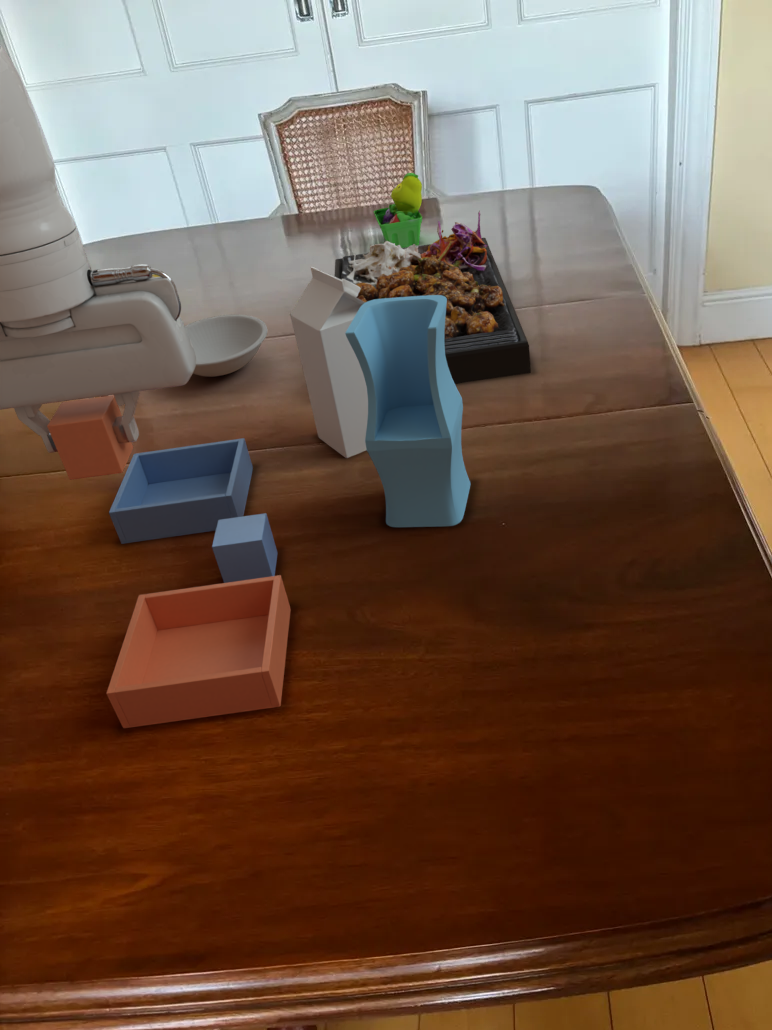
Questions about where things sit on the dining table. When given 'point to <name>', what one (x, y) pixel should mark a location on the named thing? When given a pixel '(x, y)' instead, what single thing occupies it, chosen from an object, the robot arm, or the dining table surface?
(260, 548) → the blue-grey block
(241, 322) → the dish
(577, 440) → the dining table surface
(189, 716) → the terracotta tray
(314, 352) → the milk carton
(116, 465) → the terracotta block
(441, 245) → the food platter
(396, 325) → the blue wingback chair
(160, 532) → the blue-grey tray
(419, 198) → the fruit basket
